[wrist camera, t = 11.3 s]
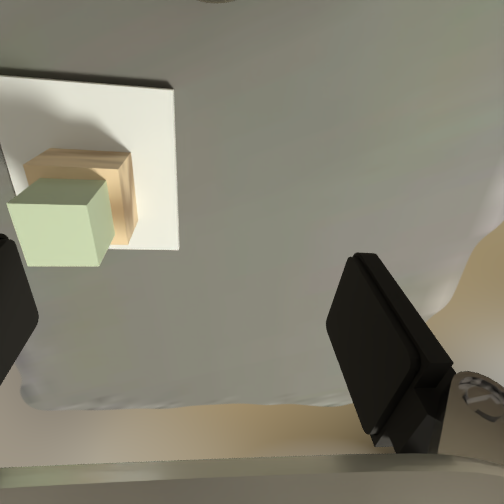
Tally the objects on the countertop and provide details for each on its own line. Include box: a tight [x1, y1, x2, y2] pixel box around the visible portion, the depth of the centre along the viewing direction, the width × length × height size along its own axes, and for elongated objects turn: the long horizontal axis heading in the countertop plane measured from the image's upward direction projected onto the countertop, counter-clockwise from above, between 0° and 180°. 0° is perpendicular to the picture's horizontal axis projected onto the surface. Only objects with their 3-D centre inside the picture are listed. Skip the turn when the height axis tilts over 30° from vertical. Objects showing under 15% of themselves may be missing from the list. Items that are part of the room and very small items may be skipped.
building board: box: [0, 75, 179, 250], centre depth 32 cm, size 16×15×1 cm
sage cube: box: [6, 178, 115, 266], centre depth 25 cm, size 5×5×5 cm
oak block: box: [23, 148, 138, 245], centre depth 30 cm, size 7×7×5 cm
